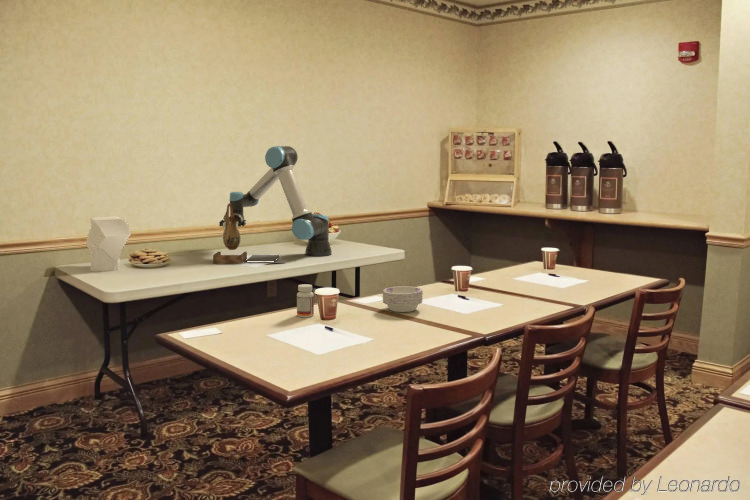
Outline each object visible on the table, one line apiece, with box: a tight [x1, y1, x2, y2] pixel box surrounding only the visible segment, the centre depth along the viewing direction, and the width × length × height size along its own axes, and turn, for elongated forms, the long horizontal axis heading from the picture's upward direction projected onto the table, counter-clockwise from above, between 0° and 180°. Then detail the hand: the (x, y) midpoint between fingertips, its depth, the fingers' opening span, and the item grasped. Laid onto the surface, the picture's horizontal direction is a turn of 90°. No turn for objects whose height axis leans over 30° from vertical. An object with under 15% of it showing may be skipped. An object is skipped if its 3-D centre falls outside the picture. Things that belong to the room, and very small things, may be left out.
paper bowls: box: [382, 285, 424, 313], centre depth 259 cm, size 15×15×8 cm
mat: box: [246, 254, 280, 263], centre depth 371 cm, size 15×18×1 cm
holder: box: [212, 251, 248, 265], centre depth 363 cm, size 15×13×4 cm
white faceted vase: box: [85, 215, 132, 272], centre depth 342 cm, size 21×27×26 cm
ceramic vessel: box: [222, 202, 241, 251], centre depth 366 cm, size 16×9×25 cm, turn 30°
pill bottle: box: [296, 283, 315, 318], centre depth 248 cm, size 6×6×11 cm
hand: (230, 225), depth 361 cm, fingers closed on ceramic vessel, 6 cm apart
